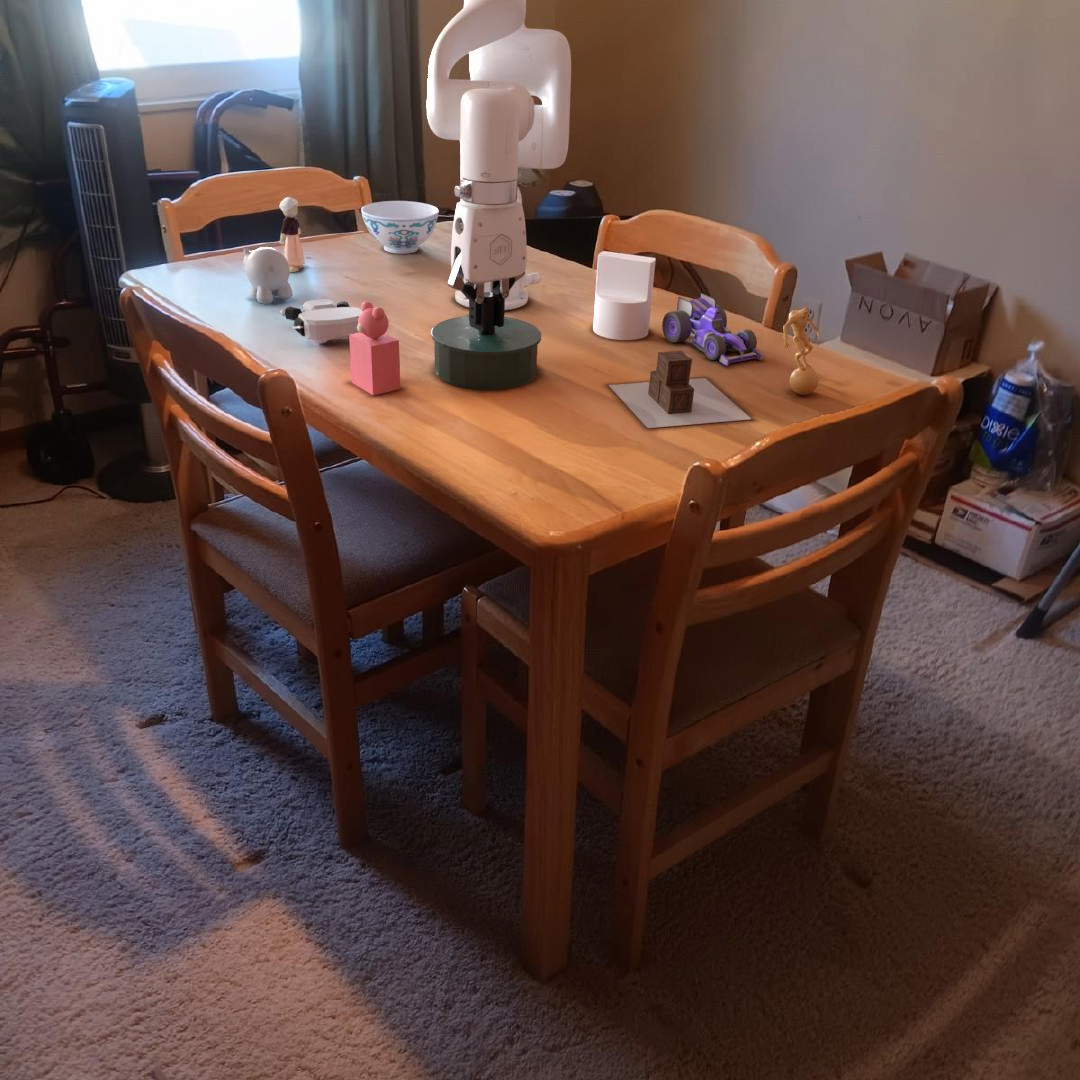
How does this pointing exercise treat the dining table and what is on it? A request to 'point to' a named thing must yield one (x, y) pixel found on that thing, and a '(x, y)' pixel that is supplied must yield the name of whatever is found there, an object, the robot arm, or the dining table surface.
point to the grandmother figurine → (291, 234)
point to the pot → (485, 368)
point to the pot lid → (486, 334)
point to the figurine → (801, 353)
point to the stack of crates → (677, 396)
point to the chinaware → (400, 224)
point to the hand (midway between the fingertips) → (486, 325)
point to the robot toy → (324, 320)
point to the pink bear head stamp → (374, 353)
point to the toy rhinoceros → (267, 274)
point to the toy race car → (708, 330)
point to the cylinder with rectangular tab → (623, 295)
